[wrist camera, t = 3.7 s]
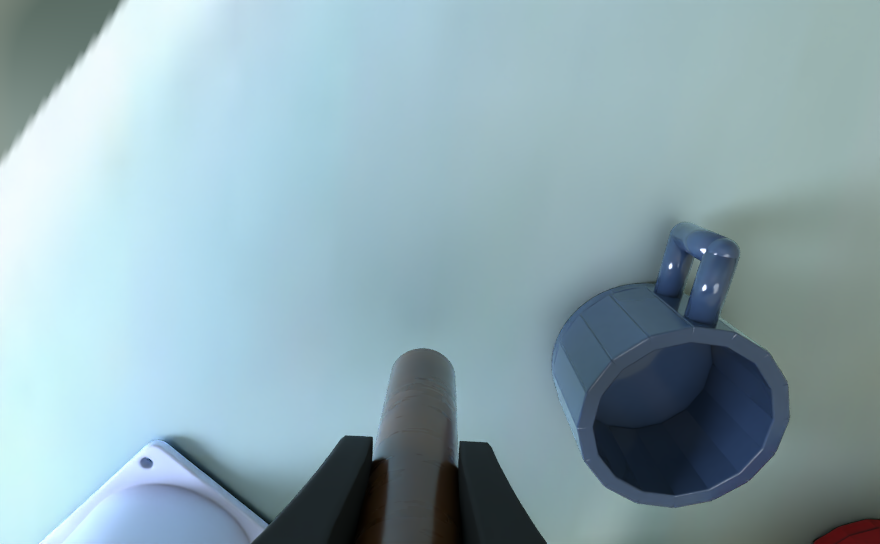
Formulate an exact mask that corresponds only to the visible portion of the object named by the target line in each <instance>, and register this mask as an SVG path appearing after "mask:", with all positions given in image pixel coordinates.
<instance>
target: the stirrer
mask: <svg viewBox="0 0 880 544" xmlns="http://www.w3.org/2000/svg"><path fill="white" fill-rule="evenodd" d="M354 544H462V535H461V518H460V507H459V487H458V434H457V408H456V383H455V372H454V368H453V366H452V364H451V363H450V361H449V360H448V359H447V358H446V357H445V356H444V355H442V354H441V353H439V352H437V351H434V350H431V349H425V348H419V349H414V350H411V351H408V352H406V353H404V354H403V355H401V356H400V357H399V358H398V359H397V360H396V362H395V363H394V365H393V367H392V370H391V374H390V379H389V383H388V388H387V393H386V397H385V402H384V406H383V411H382V416H381V420H380V425H379V429H378V434H377V439H376V443H375V448H374V453H373V457H372V466H371V471H370V475H369V480H368V485H367V489H366V494H365V498H364V502H363V506H362V510H361V513H360V518H359V522H358V527H357V531H356V536H355V540H354Z"/></svg>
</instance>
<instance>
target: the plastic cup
mask: <svg viewBox="0 0 880 544" xmlns="http://www.w3.org/2000/svg"><path fill="white" fill-rule="evenodd" d="M813 544H880V520H874V519H865V520H862V521H858V522H854V523H850V524H847V525H843V526H839V527H837V528H836V529H834V530H832V531H831V532H829V533H827V534H826V535H824V536H822V537H821V538H819V539H817V540H816V541H815V542H814V543H813Z"/></svg>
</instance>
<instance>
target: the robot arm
mask: <svg viewBox="0 0 880 544" xmlns="http://www.w3.org/2000/svg"><path fill="white" fill-rule="evenodd" d="M372 454H373V437H365V436H344V437H343V438H342V439H341V440H340V441H339V442H338V444H337V445H336V447H335V448H334V449H333V451H332V452H331V453H330V455H329V456H328V457H327V459H326V460H325V461H324V463H323V464H322V465H321V466H320V468H319V469H318V470H317V471H316V473H315V474H314V475H313V476H312V478H311V479H310V480H309V481H308V482H307V483H306V485H305V486H304V487H303V488H302V489H301V490H300V492H299V493H298V494H297V495H296V496H295V497H294V499H293V500H292V501H291V502H290V503H289V504H288V505H287V506H286V508H285V509H284V510H283V511H282V512H281V513H280V514H279V515H278V516H277V517H276V518H275V519H274V520H273V521H272V522H271V523H270V524H269V525H268V524H267V523H266V522H265V521H263V520H262V519H261V518H260V517H259V516H257V515H256V514H255V513H254V512H252V511H251V510H250V509H249V508H247V507H246V506H245V505H244V504H242V503H241V502H240V501H239V500H237V499H236V498H235V497H234V496H232V495H231V494H230V493H229V492H227V491H226V490H225V489H224V488H222V487H221V486H220V485H219V484H217V483H216V482H215V481H214V480H212V479H211V478H210V477H209V476H207V475H206V474H205V473H204V472H202V471H201V470H200V469H199V468H197V467H196V466H195V465H194V464H192V463H191V462H190V461H189V460H187V459H186V458H185V457H184V456H182V455H181V454H180V453H179V452H177V451H176V450H175V449H174V448H172V447H171V446H170V445H169V444H167V443H166V442H164V441H161V440H153V441H151V442H149V443H148V444H147V445H146V446H145V447H144V448H143V449H142V450H141V451H140V452H138V453H137V454H136V455H135V456H134V457H133V458H132V459H131V460H130V461H129V462H128V463H126V464H125V465H124V466H123V467H122V468H121V469H120V470H119V471H118V472H117V473H116V474H114V475H113V476H112V477H111V478H110V479H109V480H108V481H107V482H106V483H105V484H103V485H102V486H101V487H100V488H99V489H98V490H97V491H96V492H95V493H94V494H93V495H91V496H90V497H89V498H88V499H87V500H86V501H85V502H84V503H83V504H82V505H81V506H79V507H78V508H77V509H76V510H75V511H74V512H73V513H72V514H71V515H70V516H69V517H67V518H66V519H65V520H64V521H63V522H62V523H61V524H60V525H59V526H58V527H56V528H55V529H54V530H53V531H52V532H51V533H50V534H49V535H48V536H47V537H46V538H44V539H43V540H42V541H41V542H40V543H39V544H354V540H355V536H356V531H357V527H358V522H359V518H360V513H361V510H362V506H363V502H364V498H365V494H366V489H367V485H368V480H369V475H370V471H371V466H372ZM147 458H149V459H151V460H152V461H153V462H151V461H149V460H148V459H147ZM458 487H459V507H460V518H461V535H462V544H547V543H546V541H545V540H544V538H543V537H542V536H541V534H540V533H539V531H538V530H537V528H536V527H535V525H534V524H533V522H532V521H531V519H530V517H529V516H528V514H527V513H526V511H525V509H524V508H523V506H522V504H521V503H520V501H519V500H518V498H517V496H516V495H515V493H514V491H513V489H512V488H511V486H510V484H509V482H508V480H507V478H506V477H505V475H504V473H503V471H502V469H501V467H500V465H499V463H498V461H497V459H496V456H495V454H494V452H493V450H492V447H491V446H490V445H489V444H488V443H487V442H467V441H460V445H459V459H458Z"/></svg>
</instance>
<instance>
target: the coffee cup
mask: <svg viewBox="0 0 880 544" xmlns="http://www.w3.org/2000/svg"><path fill="white" fill-rule="evenodd" d="M694 257H695V258H697V259H698V260H700V265H699V268H698V271H697V274H696V277H695V281H694V284H693V287H692V290H691V293H690V296H688V295H687V294H685V293H684V290H685V286H686V283H687V280H688V277H689V273H690V270H691V267H692V264H693V260H694ZM739 258H740V248H739V246H738V245H737V243H736V242H734V241H733V240H731V239H729V238H726V237H724V236H722V235H719V234H717V233H714V232H712V231H710V230H707V229H705V228H702V227H700V226H698V225H695V224H693V223H690V222H682V223H679V224H677V225H675V226H674V227H673V228H672V230H671V232H670V235H669V239H668V242H667V246H666V249H665V253H664V256H663V260H662V263H661V267H660V270H659V274H658V277H657V281H656V284H651V283H637V284H629V285H623V286H619V287H616V288H613V289H610V290H607V291H605V292H603V293H600V294H599V295H597V296H595V297H593V298H592V299H590V300H589V301H587V302H586V303H585V304H583V305H582V306H581V307H580V308H579V309H578V310H577V311H576V312H575V313H573V315H572V316H571V317H570V318H569V319H568V321H567V322H566V323H565V325H564V327H563V328H562V330H561V331H560V334H559V336H558V338H557V340H556V343H555V346H554V350H553V355H552V376H553V381H554V384H555V388H556V390H557V394H558V399H559V401H560V403H561V406H562V408H563V411H564V413H565V416H566V418H567V421H568V423H569V426H570V428H571V431H572V433H573V436H574V438H575V441H576V443H577V446H578V448H579V451H580V453H581V455H582V458H583V460H584V462H585V463H586V464H587V466H588V467H589V468H590V469H591V471H592V472H593V473H594V474H595V476H596V477H597V478H598V480H599V481H600V482H601V483H602V485H603V486H605V487H606V488H608V489H610V490H611V491H613V492H615V493H617V494H619V495H621V496H623V497H625V498H627V499H629V500H631V501H633V502H635V503H638V504H645V505H654V506H662V507H670V508H673V507H674V508H677V507H683V506H688V505H693V504H698V503H703V502H708V501H712V500H715V499H717V498H719V497H720V496H722V495H724V494H726V493H728V492H730V491H732V490H734V489H735V488H737V487H739V486H741V485H743V484H745V483H747V482H748V481H749V480H751V478H752V477H753V476H754V475H755V474H756V473H757V472H758V471H759V470H760V469H761V468H762V467H763V466H764V465H765V464H766V463H767V462H768V461H769V460H770V459H771V458H772V456H773V455H774V454H775V452H776V451H777V449H778V446H779V444H780V442H781V439H782V437H783V434H784V432H785V429H786V427H787V425H788V422H789V418H790V410H789V391H788V384H787V380H786V379H785V377H784V375H783V374H782V372H781V370H780V369H779V367H778V366H777V364H776V362H775V361H774V359H773V357H772V356H771V354H770V353H769V352H768V351H767V350H766V349H764V348H763V347H761V346H760V345H759V344H757V343H756V342H755V341H753V340H752V339H750V338H749V337H748V336H746V335H745V334H743V333H742V332H741V331H739V330H738V329H736V328H735V327H734V326H732V325H731V324H729V323H728V322H727V321H725V320H724V319H722V318H721V317H720V314H721V311H722V308H723V305H724V302H725V299H726V296H727V294H728V291H729V288H730V285H731V282H732V279H733V276H734V273H735V270H736V267H737V264H738V261H739Z"/></svg>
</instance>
